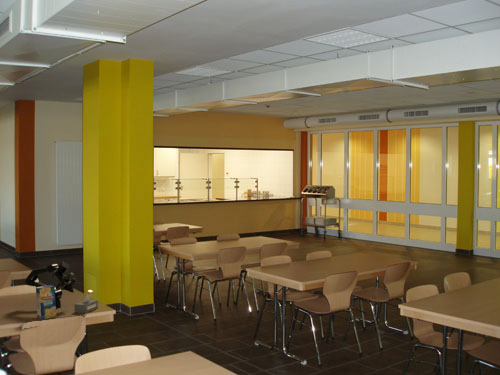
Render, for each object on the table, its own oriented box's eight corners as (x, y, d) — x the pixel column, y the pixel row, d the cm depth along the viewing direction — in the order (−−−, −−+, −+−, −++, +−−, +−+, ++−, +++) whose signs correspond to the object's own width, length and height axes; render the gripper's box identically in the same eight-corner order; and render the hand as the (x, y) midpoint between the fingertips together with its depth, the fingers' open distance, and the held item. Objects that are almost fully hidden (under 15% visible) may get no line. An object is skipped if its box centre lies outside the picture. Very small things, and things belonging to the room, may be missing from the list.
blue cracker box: (37, 317, 379) (35, 287, 378) (52, 314, 386) (50, 284, 385) (41, 319, 374) (39, 289, 373) (56, 316, 381) (54, 286, 380)
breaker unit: (74, 312, 390) (74, 303, 390) (87, 307, 403) (86, 299, 403) (85, 313, 386) (85, 304, 386) (97, 308, 399) (97, 300, 399)
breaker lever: (83, 300, 393) (87, 290, 391) (86, 299, 396) (90, 289, 395) (86, 301, 392) (90, 292, 390) (89, 300, 396) (93, 291, 394)
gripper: (57, 272, 391) (70, 288, 388) (74, 267, 409) (86, 282, 405) (50, 282, 395) (62, 297, 391) (67, 277, 412) (79, 292, 408)
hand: (73, 292), depth 399 cm, fingers closed
